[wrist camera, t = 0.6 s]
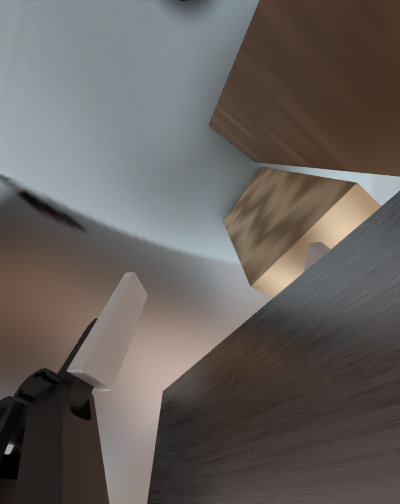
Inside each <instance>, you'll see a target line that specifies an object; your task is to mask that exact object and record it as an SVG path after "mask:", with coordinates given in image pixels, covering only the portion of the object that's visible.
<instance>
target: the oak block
mask: <svg viewBox="0 0 400 504" xmlns="http://www.w3.org/2000/svg"><path fill="white" fill-rule="evenodd" d="M380 207H381V206H380V205H379V204H378V203H377V202H376V201H375V200H374V199H373V198H372V197H371V196H370V195H369V194H368V193H367V192H366V191H365V190H364V189H363V188H362V187H361V186H360V185H359V184H358V183H355V182H349V181H343V180H337V179H331V178H325V177H319V176H313V175H307V174H301V173H295V172H289V171H283V170H277V169H271V168H265V167H261V168H260V170H259V171H258V173H257V174H256V176H255V177H254V178H253V180H252V181H251V183H250V184H249V185H248V187H247V188H246V190H245V191H244V192H243V194H242V195H241V197H240V198H239V199H238V201H237V202H236V204H235V205H234V206H233V208H232V209H231V211H230V212H229V214H228V215H227V216H226V218H225V219H224V221H223V222H224V224H225V227H226V229H227V231H228V234H229V236H230V239H231V241H232V243H233V246H234V248H235V250H236V253H237V255H238V258H239V260H240V262H241V265H242V267H243V269H244V272H245V274H246V277H247V279H248V282H249V284H250V286H251V287H252V288H255V289H257V290H259V291H261V292H263V293H265V294H267V295H269V296H271V297H273V298H274V297H275V296H276V295H277V294H279V293H280V292H281V291H282V290H283V289H285V288H286V287H287V286H288V285H289V284H290V283H292V282H293V281H294V280H295V279H296V278H298V277H299V276H300V275H301V274H302V273H303V271H304V266H305V261H306V256H307V251H308V246H309V243H315V242H322V243H323V244H325V245H326V246H327V247H328V248H329V249H332V248H333V247H334V246H335V245H337V244H338V243H339V242H340V241H341V240H342V239H344V238H345V237H346V236H347V235H348V234H350V233H351V232H352V231H353V230H354V229H355V228H357V227H358V226H359V225H360V224H361V223H363V222H364V221H365V220H366V219H367V218H368V217H370V216H371V215H372V214H373V213H374V212H376V211H377V210H378V209H379V208H380Z"/></svg>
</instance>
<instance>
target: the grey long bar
mask: <svg viewBox="0 0 400 504" xmlns="http://www.w3.org/2000/svg"><path fill="white" fill-rule="evenodd" d="M147 504H400V191H399V192H398V193H397V194H396V195H394V196H393V197H392V198H391V199H390V200H389V201H387V202H386V203H385V204H384V205H383V206H381V207H380V208H379V209H378V210H377V211H376V212H374V213H373V214H372V215H371V216H370V217H368V218H367V219H366V220H365V221H364V222H363V223H361V224H360V225H359V226H358V227H357V228H355V229H354V230H353V231H352V232H351V233H350V234H348V235H347V236H346V237H345V238H344V239H342V240H341V241H340V242H339V243H338V244H337V245H335V246H334V247H333V248H332V249H331V250H329V251H328V252H327V253H326V254H325V255H324V256H322V257H321V258H320V259H319V260H318V261H316V262H315V263H314V264H313V265H312V266H311V267H309V268H308V269H307V270H306V271H305V272H303V273H302V274H301V275H300V276H299V277H298V278H296V279H295V280H294V281H293V282H292V283H290V284H289V285H288V286H287V287H286V288H285V289H283V290H282V291H281V292H280V293H279V294H277V295H276V296H275V297H274V298H273V299H272V300H270V301H269V302H268V303H267V304H266V305H265V306H263V307H262V308H261V309H260V310H259V311H257V313H255V314H254V315H253V316H252V317H250V318H249V319H248V320H247V321H246V322H244V323H243V324H242V325H241V326H240V327H239V328H237V329H236V330H235V331H234V332H233V333H231V334H230V335H229V336H228V337H227V338H226V339H224V340H223V341H222V342H221V343H220V344H218V345H217V346H216V347H215V348H214V349H212V350H211V351H210V352H209V353H208V354H207V355H205V356H204V357H203V358H202V359H201V360H199V361H198V362H197V363H196V364H195V365H194V366H192V367H191V368H190V369H189V370H188V371H186V372H185V373H184V374H183V375H182V376H181V377H179V378H178V379H177V380H176V381H175V382H174V383H172V384H171V385H170V386H169V387H168V388H166V389H165V390H164V391H163V395H162V402H161V410H160V417H159V424H158V431H157V438H156V445H155V452H154V459H153V467H152V473H151V481H150V487H149V495H148V503H147Z"/></svg>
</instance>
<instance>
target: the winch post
mask: <svg viewBox="0 0 400 504" xmlns="http://www.w3.org/2000/svg"><path fill="white" fill-rule="evenodd" d="M209 126H210V127H212V128H213V129H214V130H215V131H217V132H218V133H219V134H221V135H222V136H223V137H224V138H226V139H227V140H228V141H229V142H231V143H232V144H233V145H234V146H236V147H237V148H238V149H239V150H241V151H242V152H243V153H245V154H246V155H247V156H248V157H250V158H251V159H252V160H253V161H255V162H259V163H270V164H280V165H290V166H300V167H310V168H320V169H330V170H340V171H350V172H360V173H370V174H380V175H390V176H400V0H260V1H259V3H258V6H257V8H256V11H255V13H254V15H253V18H252V20H251V23H250V25H249V28H248V30H247V33H246V35H245V37H244V40H243V42H242V45H241V47H240V50H239V52H238V55H237V57H236V59H235V62H234V64H233V67H232V69H231V72H230V74H229V77H228V79H227V82H226V84H225V86H224V89H223V91H222V94H221V96H220V99H219V101H218V104H217V106H216V108H215V111H214V113H213V116H212V118H211V121H210V123H209Z"/></svg>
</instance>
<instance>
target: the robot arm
mask: <svg viewBox="0 0 400 504" xmlns="http://www.w3.org/2000/svg"><path fill="white" fill-rule="evenodd" d="M329 250H331V249H329V248H328V247H327V246H326V245H325V244H323V243H322V242H315V243H309V246H308V251H307V256H306V261H305V266H304V271H303V272H305V271H306V270H307V269H308V268H309V267H311V266H312V265H313V264H314V263H315V262H316V261H318V260H319V259H320V258H321V257H322V256H324V255H325V254H326V253H327V252H328V251H329ZM146 297H147V293H146V292H145V290H144V288H143V286H142V285H141V283H140V282H139V279H138V278H137V276H136V274H135V273H134V272H131V273H125V275H124V276H123V278H122V280H121V281H120V283H119V285H118V286H117V288H116V289H115V291H114V293H113V295H112V296H111V298H110V300H109V301H108V303H107V304H106V306H105V308H104V309H103V311H102V313H101V314H100V316H99V318H96V319H94V320H93V321H92V322H91V323H90V324H89V325H88V327H87V328H86V330H85V331H84V333H83V335H82V336H81V338H80V339H79V341H78V344H76V345H75V347H74V349H73V350H72V352H71V353H70V355H69V357H68V358H67V360H66V361H65V363H64V365H63V366H62V368H61V369H60V371H59V372H58V373H57V374H56V373H54V372H52V371H50V370H49V369H46V368H44V369H40V370H38V371H36V372H35V373H33V374H32V375H31V376H29V377H28V378H27V379H26V380H25V381H24V382H23V383H22V384H21V385H20V387H19V388H18V390H17V391H16V393H15V395H14V397H11V396H8V397H5V398H3V399H2V400H0V504H109V499H108V492H107V485H106V478H105V471H104V465H103V458H102V451H101V444H100V437H99V430H98V423H97V417H96V410H95V403H94V397H93V395H92V393H91V392H92V390H93V388H96V389H97V390H99V391H107V390H113V387H114V385H115V382H116V379H117V377H118V374H119V371H120V368H121V365H122V363H123V360H124V357H125V355H126V352H127V349H128V347H129V343H130V341H131V338H132V336H133V333H134V330H135V327H136V325H137V322H138V319H139V317H140V314H141V311H142V308H143V305H144V303H145V300H146ZM8 444H12V445H14V447H13V449H12V451H11V453H10V454H8V455H7V454H4V453H5V450H6V447H7V445H8Z"/></svg>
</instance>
